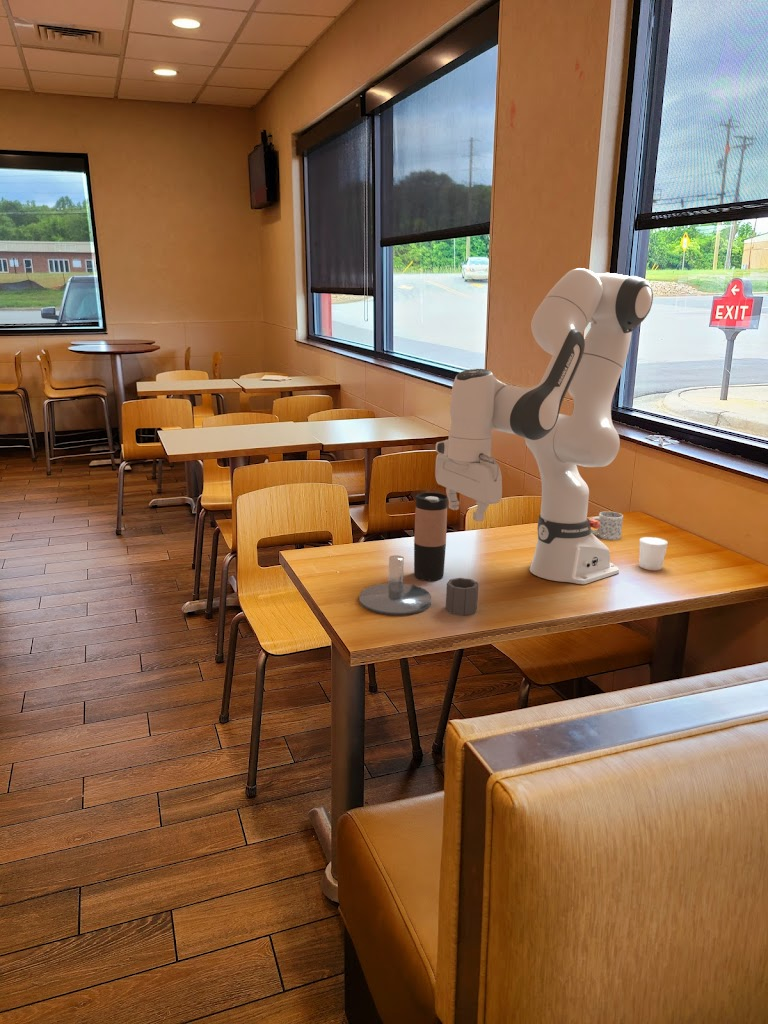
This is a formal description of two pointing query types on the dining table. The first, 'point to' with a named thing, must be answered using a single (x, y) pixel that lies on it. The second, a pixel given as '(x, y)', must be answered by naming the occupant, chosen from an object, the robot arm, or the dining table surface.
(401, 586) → the grey metal round base
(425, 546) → the travel mug
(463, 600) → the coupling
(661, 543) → the white short tapered cylinder
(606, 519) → the mug
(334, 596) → the dining table surface
